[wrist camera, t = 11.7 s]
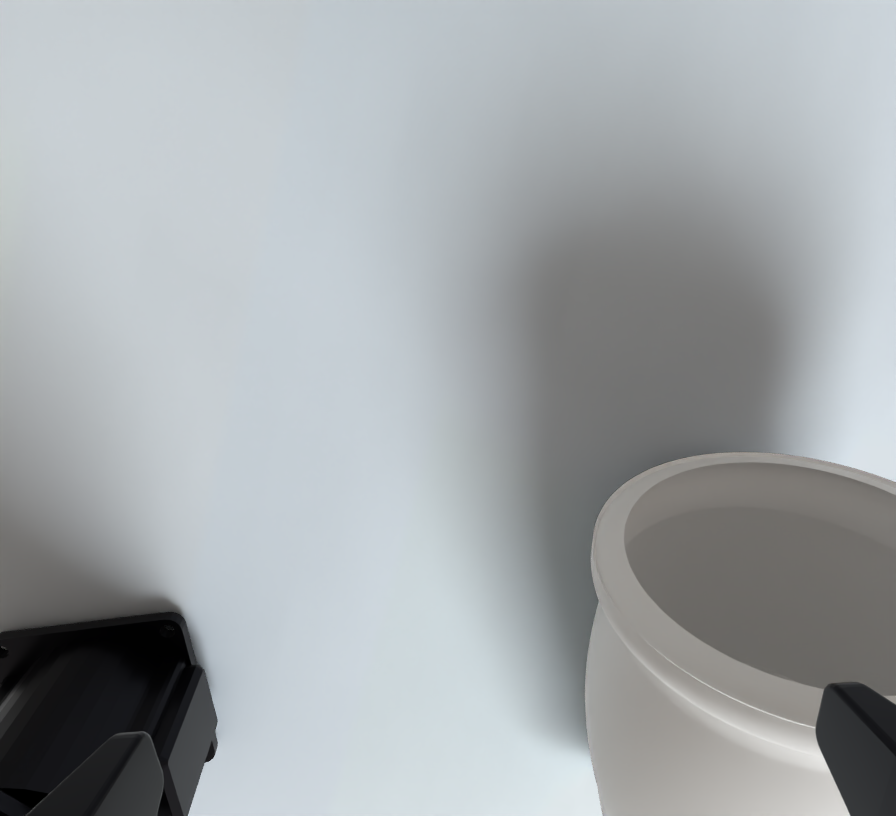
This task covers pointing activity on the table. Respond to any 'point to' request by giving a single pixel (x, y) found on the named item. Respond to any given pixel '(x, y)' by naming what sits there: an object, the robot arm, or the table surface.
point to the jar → (734, 631)
